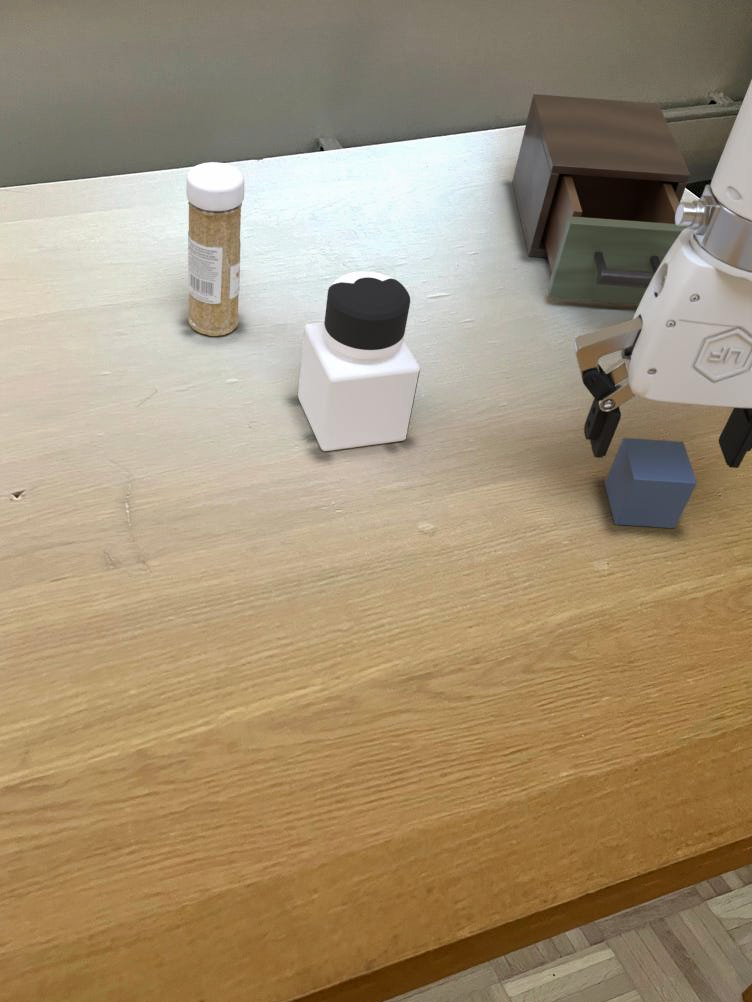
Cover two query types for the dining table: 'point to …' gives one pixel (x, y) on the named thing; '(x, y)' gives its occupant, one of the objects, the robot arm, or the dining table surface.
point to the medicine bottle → (359, 364)
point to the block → (649, 483)
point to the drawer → (608, 236)
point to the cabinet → (589, 152)
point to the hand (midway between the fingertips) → (661, 450)
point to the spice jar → (214, 246)
